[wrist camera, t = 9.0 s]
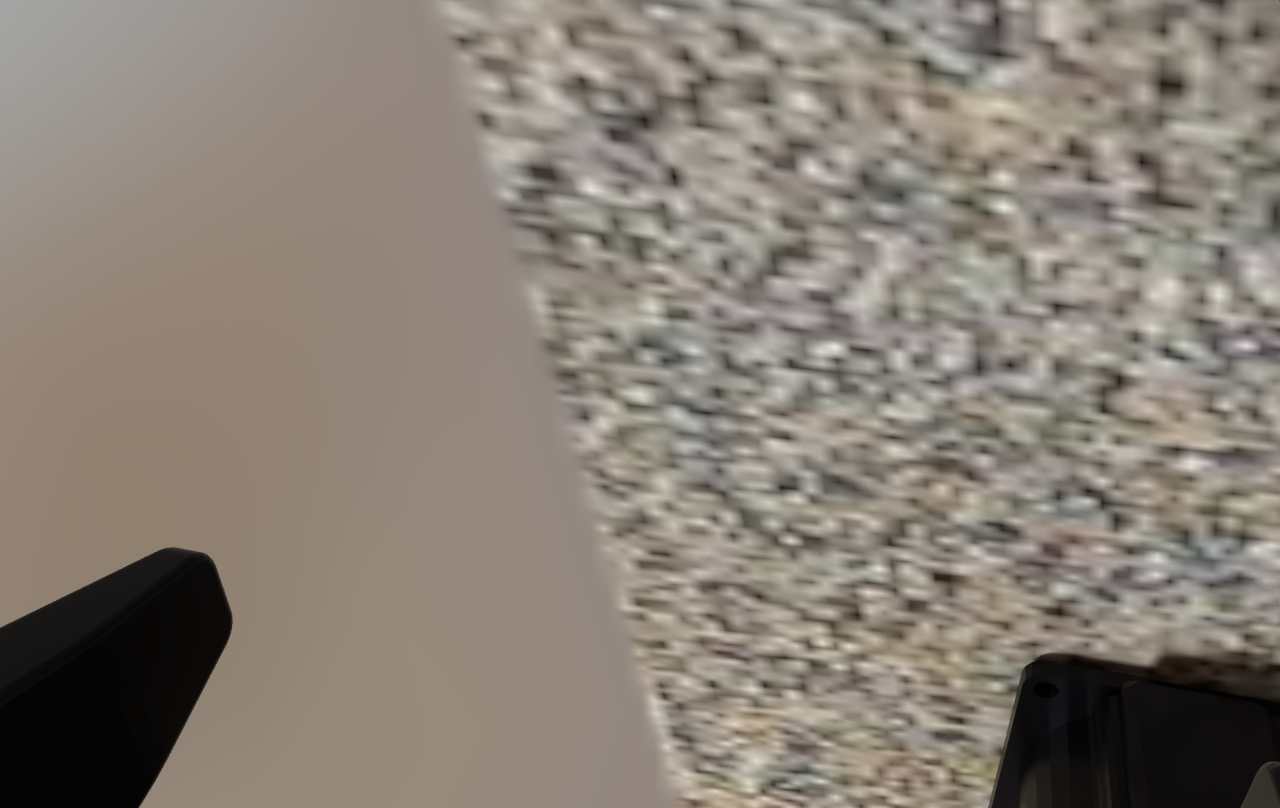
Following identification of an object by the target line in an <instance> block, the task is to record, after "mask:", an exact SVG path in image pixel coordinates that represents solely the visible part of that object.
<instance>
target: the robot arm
mask: <svg viewBox="0 0 1280 808" xmlns="http://www.w3.org/2000/svg"><path fill="white" fill-rule="evenodd" d="M232 623H233V620H232V612H231V609H230V606H229V603H228V601H227V597H226V594H225V592H224V588H223V586H222V583H221V580H220V577H219V574H218V571H217V568H216V565H215V563H214V561H213V560H212V559H211V558H210V557H209V556H208V555H207V554H205V553H202V552H197V551H191V550H186V549H181V548H175V547H171V548H164V549H161V550H159V551H157V552H155V553H153V554H151V555H149V556H146V557H144V558H142V559H140V560H138V561H136V562H134V563H132V564H130V565H128V566H126V567H124V568H122V569H120V570H118V571H116V572H114V573H112V574H109V575H107V576H105V577H104V578H101V579H99V580H97V581H95V582H93V583H91V584H89V585H87V586H85V587H83V588H81V589H79V590H77V591H75V592H73V593H70V594H68V595H66V596H65V597H62V598H60V599H58V600H56V601H54V602H52V603H50V604H48V605H46V606H44V607H42V608H40V609H38V610H36V611H34V612H31V613H29V614H27V615H25V616H23V617H21V618H19V619H17V620H15V621H13V622H11V623H9V624H7V625H5V626H3V627H1V628H0V808H139V807H140V805H141V804H142V802H143V800H144V799H145V797H146V796H147V794H148V792H149V791H150V789H151V787H152V786H153V784H154V782H155V781H156V779H157V777H158V775H159V773H160V772H161V770H162V768H163V766H164V764H165V762H166V761H167V759H168V757H169V755H170V753H171V751H172V749H173V747H174V745H175V743H176V741H177V739H178V738H179V736H180V734H181V732H182V730H183V728H184V726H185V724H186V722H187V720H188V718H189V716H190V714H191V712H192V710H193V708H194V706H195V704H196V702H197V701H198V699H199V697H200V695H201V693H202V691H203V689H204V687H205V685H206V683H207V681H208V679H209V677H210V675H211V673H212V671H213V670H214V668H215V665H216V664H217V662H218V660H219V658H220V656H221V654H222V652H223V650H224V648H225V646H226V644H227V642H228V640H229V637H230V634H231V630H232ZM1041 682H1049V683H1052V684H1051V685H1043V684H1041ZM988 808H1280V703H1278V702H1272V701H1267V700H1261V699H1256V698H1250V697H1245V696H1239V695H1234V694H1228V693H1223V692H1217V691H1212V690H1207V689H1201V688H1196V687H1190V686H1185V685H1179V684H1174V683H1168V682H1163V681H1157V680H1152V679H1146V678H1141V677H1135V676H1130V675H1125V674H1119V673H1114V672H1108V671H1103V670H1097V669H1092V668H1086V667H1081V666H1075V665H1070V664H1064V663H1059V662H1053V661H1043V660H1040V661H1036V662H1032V663H1030V664H1028V665H1027V666H1025V668H1024V670H1023V671H1022V674H1021V678H1020V682H1019V686H1018V690H1017V694H1016V698H1015V702H1014V706H1013V710H1012V714H1011V718H1010V722H1009V726H1008V731H1007V735H1006V739H1005V743H1004V747H1003V751H1002V755H1001V759H1000V763H999V767H998V771H997V775H996V779H995V783H994V787H993V791H992V795H991V799H990V803H989V807H988Z"/></svg>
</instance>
